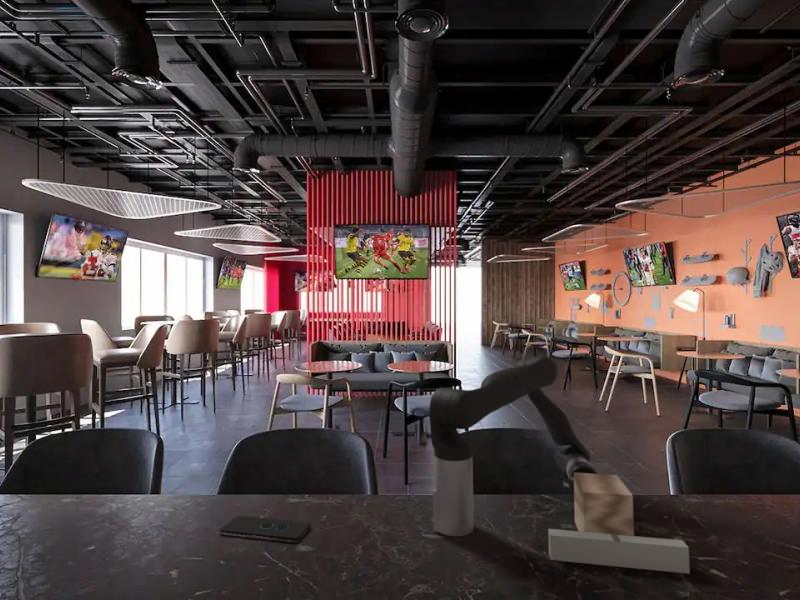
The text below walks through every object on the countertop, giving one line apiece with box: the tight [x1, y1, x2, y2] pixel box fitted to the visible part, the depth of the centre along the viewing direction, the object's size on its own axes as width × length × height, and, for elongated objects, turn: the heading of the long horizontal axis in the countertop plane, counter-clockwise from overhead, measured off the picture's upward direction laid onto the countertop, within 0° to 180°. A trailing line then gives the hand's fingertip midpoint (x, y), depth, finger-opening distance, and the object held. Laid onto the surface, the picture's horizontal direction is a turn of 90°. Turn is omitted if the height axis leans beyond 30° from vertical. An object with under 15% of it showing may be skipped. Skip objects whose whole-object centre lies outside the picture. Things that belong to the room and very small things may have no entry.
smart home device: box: [219, 515, 312, 541], centre depth 107 cm, size 8×2×20 cm
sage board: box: [547, 528, 691, 574], centre depth 92 cm, size 26×3×5 cm, turn 78°
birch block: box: [573, 473, 635, 536], centre depth 104 cm, size 10×13×12 cm
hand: (594, 497), depth 111 cm, fingers closed
